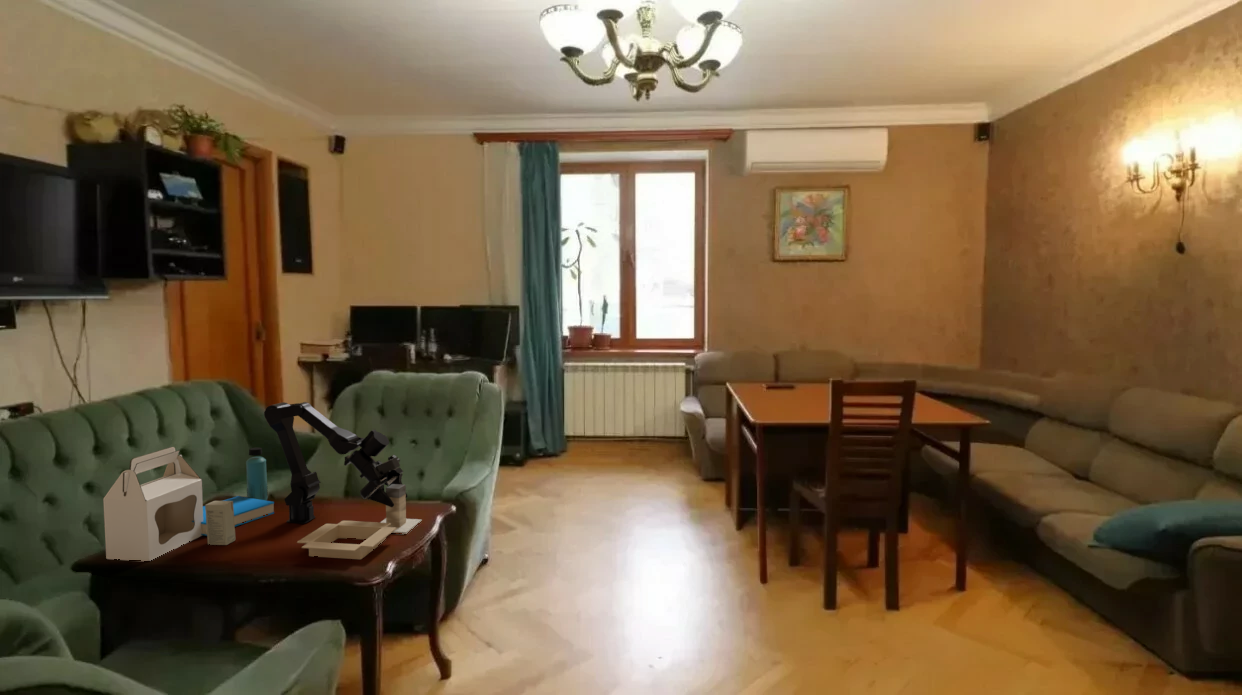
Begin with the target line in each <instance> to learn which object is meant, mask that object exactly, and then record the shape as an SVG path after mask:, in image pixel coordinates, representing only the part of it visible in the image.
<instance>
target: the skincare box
mask: <svg viewBox="0 0 1242 695" xmlns="http://www.w3.org/2000/svg"><path fill="white" fill-rule="evenodd" d="M204 506H205V510H206V525H207V536H206V537H207V545H209V544H210V545H209V546H212V545H214V546H216V545H217V546H227V545H229V544H231V543H233V542H235V541H236V528H235V527H236V526H235V524H234V508H233V501H223V500H213V501H210V502H208V503H206V504H204Z"/></svg>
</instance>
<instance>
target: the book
mask: <svg viewBox="0 0 1242 695" xmlns="http://www.w3.org/2000/svg"><path fill="white" fill-rule="evenodd" d="M222 501H233V508H234V524H235V527H238V526H240V525H241V526H242V525H244V524H247V523H250V522H253V521H256V520H258V519H262V518H264V517H265V518H266V517H269V516H271V515H274V514H275V510H274V509H275V508H274V504H275V501H271V500H260V499H254V498H248V496H241V495H236V496H233V497H231V498H227V499H224V500H222ZM266 514H268V515H266ZM263 515H265V516H263ZM251 519H252V520H251ZM245 521H246V522H245ZM242 522H244V523H242ZM193 527H194V521H192V529H193ZM201 533H202V534H201V535H202V536H206V537H207V525H206V510H205V505H203V522H201Z"/></svg>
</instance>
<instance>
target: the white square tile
mask: <svg viewBox="0 0 1242 695" xmlns="http://www.w3.org/2000/svg"><path fill="white" fill-rule="evenodd" d="M421 521H423V519H418V518H406V523H405V524H404V525H402V526H401V527H394V528H397V529H396V530H394V531H393V532H392V533H402V534H401V535H404V534H407V533H408V532H409V531H410V530H411V529H413V528H414V527H415V526H416V525H417V524H418V523H420V522H421ZM379 523H386V517H384V519H383V520H381V521H380V522H379ZM421 523H422V522H421ZM421 523H420V524H421ZM417 526H418V525H417ZM417 526H416V527H417ZM416 527H415V528H416ZM415 528H414V529H415ZM414 529H413V530H414ZM411 531H412V530H411ZM411 531H410V532H411ZM410 532H409V533H410ZM409 533H408V534H409ZM408 534H407V535H408Z"/></svg>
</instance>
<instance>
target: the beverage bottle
mask: <svg viewBox="0 0 1242 695" xmlns="http://www.w3.org/2000/svg"><path fill="white" fill-rule="evenodd" d="M262 454H263V448H262V447H252V448H249V449H248V455H249V456H251V457H249V458H248V459H247V460H246V461H245V465H246V497H248V498H254V499H260V500H266V501H268V497H269V492H268V485H269V484H268V476H267V475H268V474H267V459H266V458H265V457H263V456H260V455H262ZM252 456H253V457H252Z"/></svg>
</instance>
